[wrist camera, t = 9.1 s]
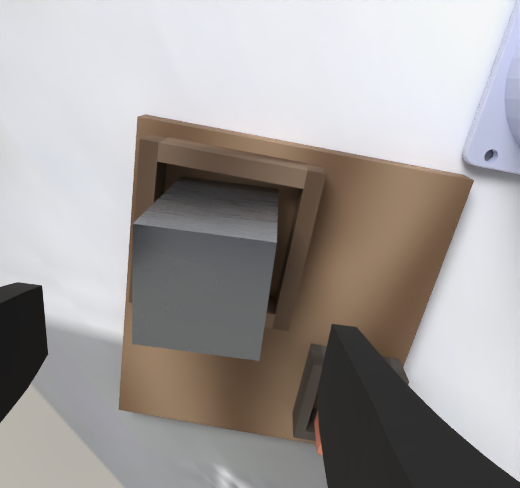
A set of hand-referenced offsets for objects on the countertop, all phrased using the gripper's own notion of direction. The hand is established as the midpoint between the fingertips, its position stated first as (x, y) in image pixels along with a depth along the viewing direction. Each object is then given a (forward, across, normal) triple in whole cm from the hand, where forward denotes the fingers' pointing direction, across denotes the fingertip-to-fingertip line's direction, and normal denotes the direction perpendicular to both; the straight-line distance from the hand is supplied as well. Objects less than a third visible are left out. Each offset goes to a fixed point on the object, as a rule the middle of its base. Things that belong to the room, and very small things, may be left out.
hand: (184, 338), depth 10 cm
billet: (+8, 0, 0) cm, 8 cm away
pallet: (+9, -2, +4) cm, 10 cm away
